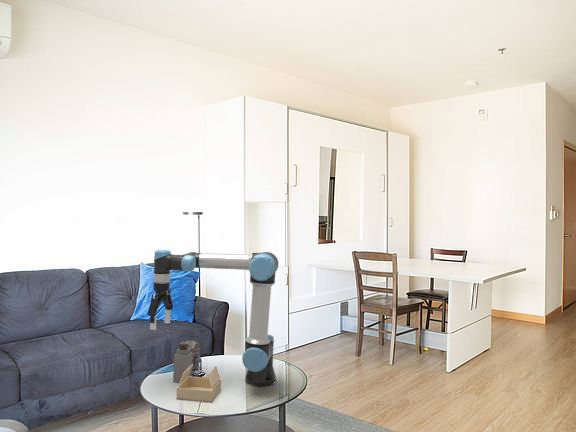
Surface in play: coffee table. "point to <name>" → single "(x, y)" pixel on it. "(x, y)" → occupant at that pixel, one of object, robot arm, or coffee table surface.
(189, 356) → the perfume bottle
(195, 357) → the figurine
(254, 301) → the robot arm
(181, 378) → the flap
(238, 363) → the coffee table surface
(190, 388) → the carton
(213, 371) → the flap
